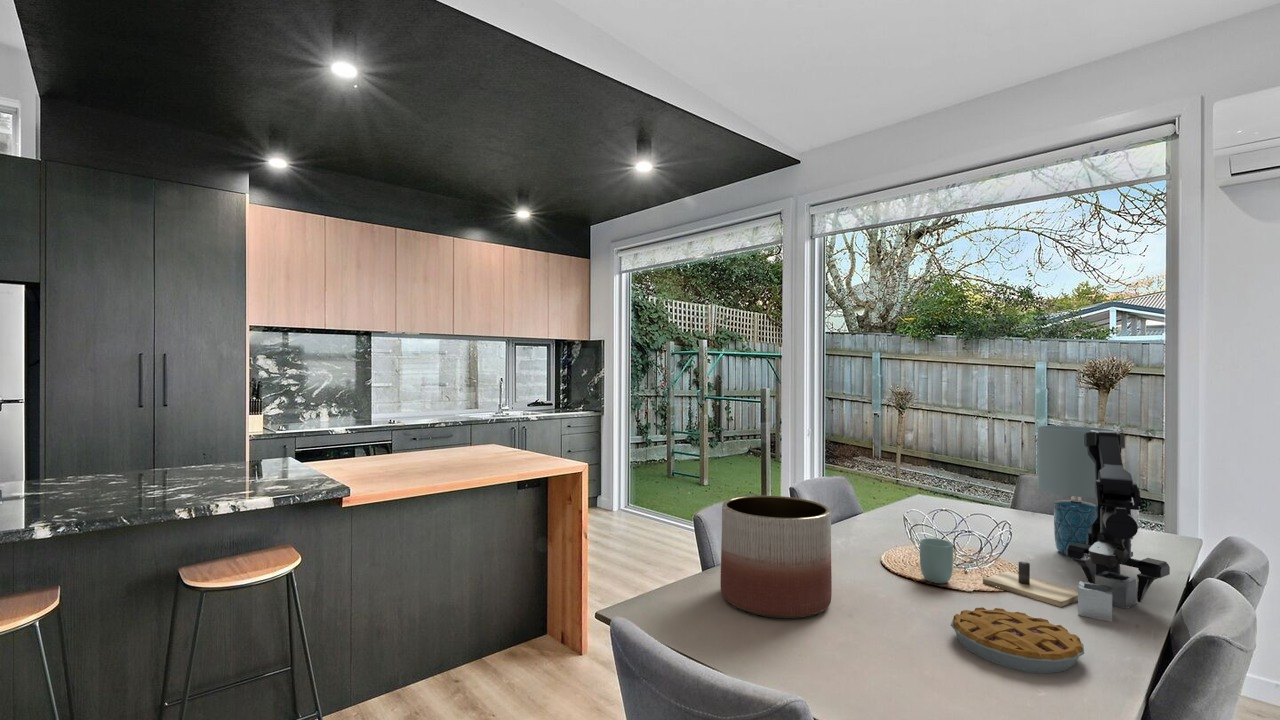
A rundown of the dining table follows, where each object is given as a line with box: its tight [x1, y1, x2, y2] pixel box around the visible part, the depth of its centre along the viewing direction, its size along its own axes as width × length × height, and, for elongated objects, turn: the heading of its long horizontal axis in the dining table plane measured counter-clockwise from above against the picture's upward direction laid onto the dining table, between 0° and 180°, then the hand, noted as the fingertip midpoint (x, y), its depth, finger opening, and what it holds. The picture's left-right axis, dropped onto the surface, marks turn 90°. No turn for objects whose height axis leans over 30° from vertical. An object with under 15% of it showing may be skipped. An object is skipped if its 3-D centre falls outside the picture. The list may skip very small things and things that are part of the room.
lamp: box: [1037, 425, 1118, 556], centre depth 181 cm, size 19×19×38 cm
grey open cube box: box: [1077, 580, 1113, 623], centre depth 136 cm, size 6×6×6 cm
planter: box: [720, 495, 833, 619], centre depth 142 cm, size 25×25×22 cm
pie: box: [950, 606, 1085, 674], centre depth 118 cm, size 22×22×5 cm
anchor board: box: [982, 560, 1078, 608], centre depth 150 cm, size 12×18×6 cm, turn 31°
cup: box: [919, 537, 954, 584], centre depth 156 cm, size 8×8×10 cm
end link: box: [1095, 571, 1138, 610], centre depth 143 cm, size 6×6×6 cm
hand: (1115, 595), depth 143 cm, fingers open, 9 cm apart
